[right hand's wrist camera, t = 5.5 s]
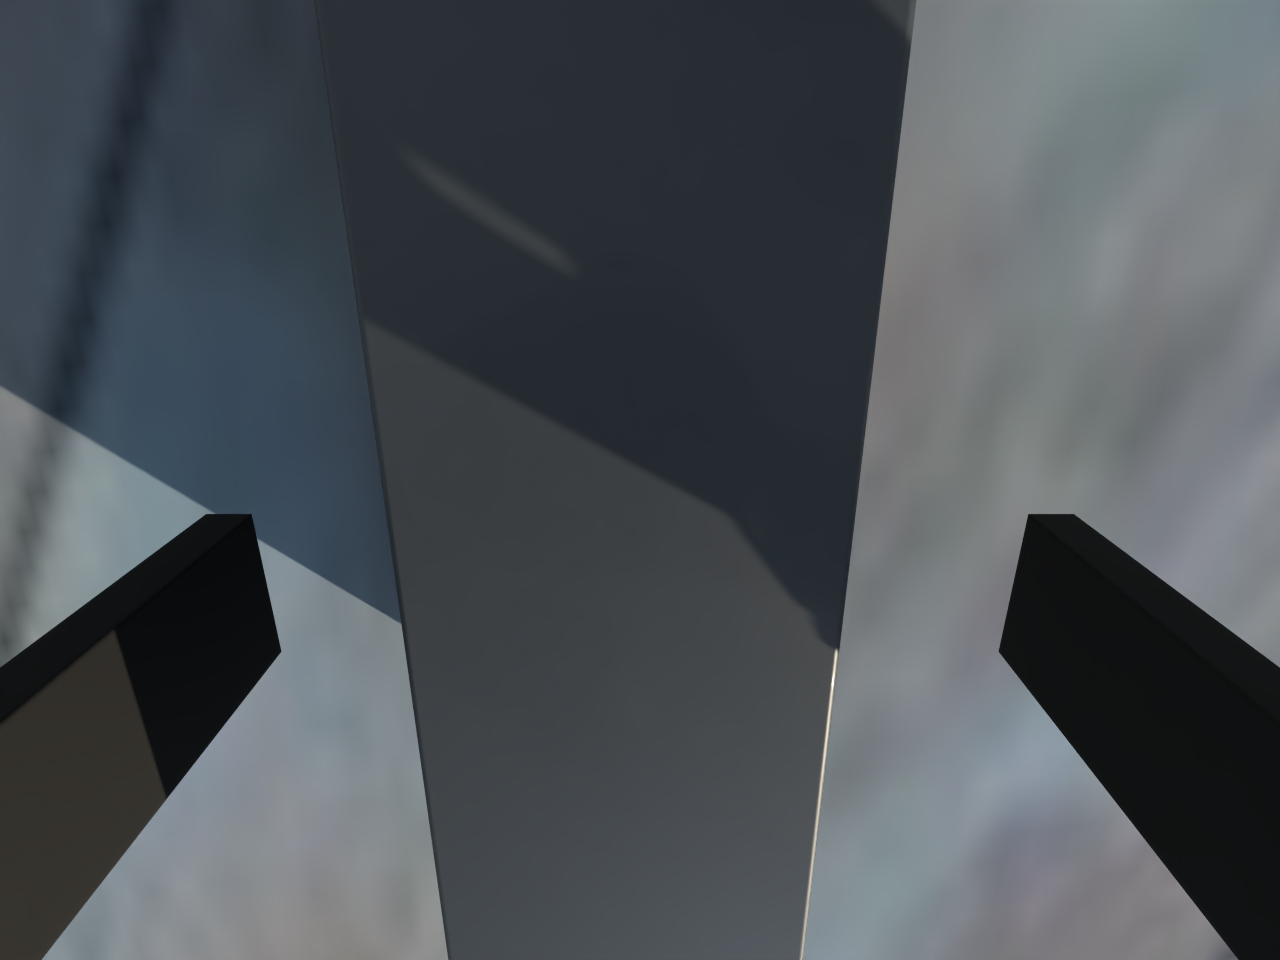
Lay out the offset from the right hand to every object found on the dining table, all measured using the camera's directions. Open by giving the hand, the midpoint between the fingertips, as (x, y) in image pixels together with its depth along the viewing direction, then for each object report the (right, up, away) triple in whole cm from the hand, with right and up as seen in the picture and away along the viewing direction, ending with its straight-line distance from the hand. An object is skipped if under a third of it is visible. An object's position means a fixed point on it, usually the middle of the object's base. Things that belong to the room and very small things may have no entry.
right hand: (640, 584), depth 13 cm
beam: (0, +13, -2) cm, 13 cm away
